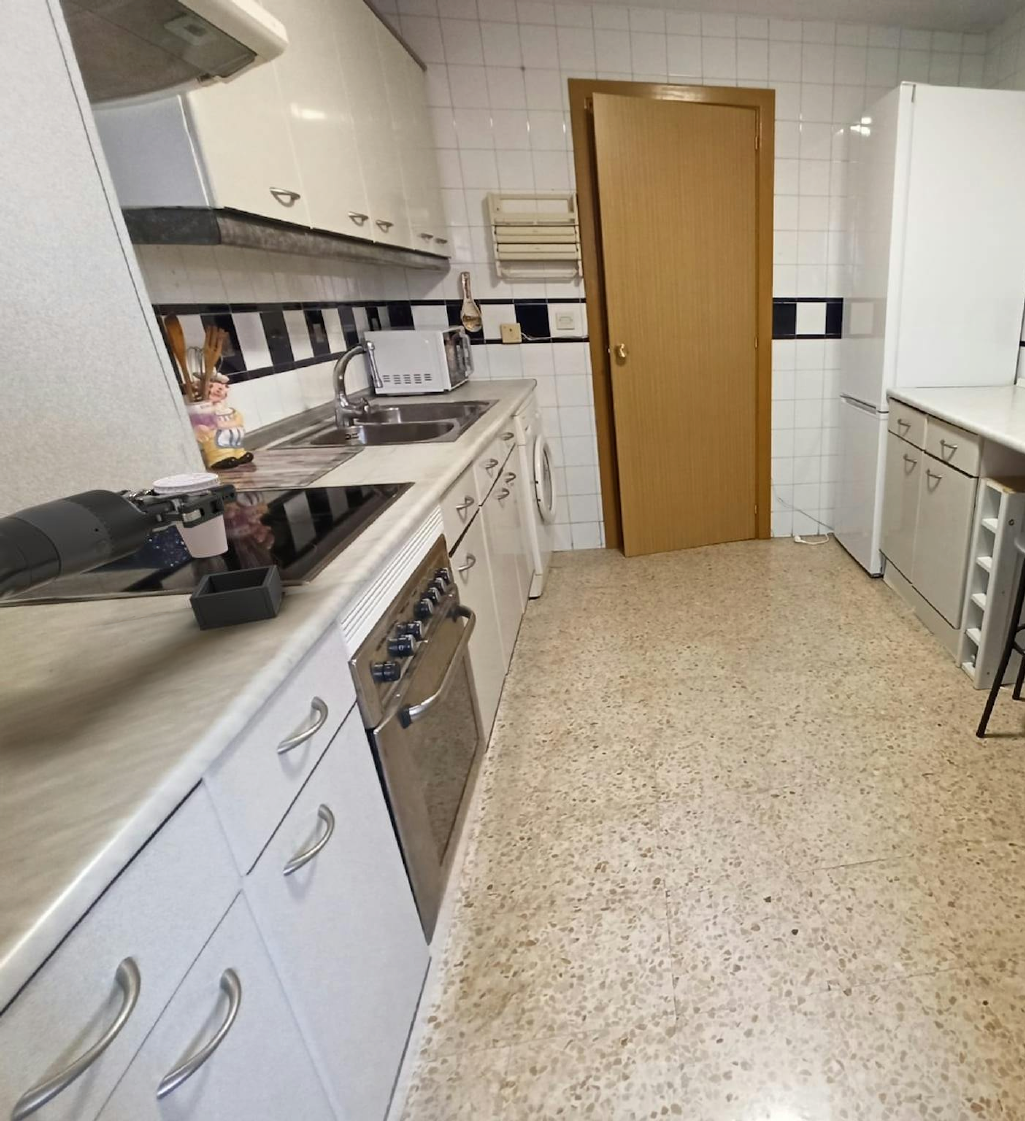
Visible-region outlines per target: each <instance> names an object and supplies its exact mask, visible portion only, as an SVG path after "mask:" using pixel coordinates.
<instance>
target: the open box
mask: <svg viewBox="0 0 1025 1121" xmlns="http://www.w3.org/2000/svg"><path fill="white" fill-rule="evenodd" d="M284 596H285V591H284V587H283V583H282V580H281V577H280V573H279V571H278V567H277V564H272V565H264V566H258V567H252V568H245V569H239V570H238V569H237V570H232V571H226V572H218V573H217V572H216V573H210V574H204V575H203V576H202V578H201V579H200V581H199V582H198V584H197V586H196V587H195V589H194V591H192V594H191V595H190V597H189V598H188V600H189V603H190V605H191V609H192V611H193V614H194V617H195V619H196V623H197V624H198V628H199V630H200V631H205V630H210V629H215V628H221V627H226V626H233V625H239V624H244V623H249V622H256V621H261V620H267V619H272V618H273V619H274V618H277V617H278V614H279V611H280V608H281V604H282V602H283V599H284Z"/></svg>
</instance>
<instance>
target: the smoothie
mask: <svg viewBox="0 0 1025 1121" xmlns="http://www.w3.org/2000/svg"><path fill="white" fill-rule="evenodd" d="M177 447H178V448H177V449H178V451H179V453H180V457H181V460H182V463H183V466H184V470H185V472H186V473H183V474H176V475H171V476H166V477H163V478H160V479H157V480H154V482H152V487H153V489H154V492H156V493H159V494H160V495H165V494H170V493H175V492H183V493H186V494H192V493H197V492H202V491H205V490H209V489H212V488H215V487H218V486H220V484H222V483H221V480H220V478H219V475H218V474H217V473H213V472H193V469H192V466H191V463H190V460H189V457H188V454H187V450H186V448H185V445H184V443H183V442H179V443H177ZM194 500H195V499H194ZM171 501H172V502H173V503H174V505H175V507H176V510H178V509H177V506H180V504H179V501H178V499H174V500H171ZM192 501H193V500H192ZM175 527H176V529H177V531H178V533H179V535H180V536H181V538H182V541H183V542H184V544H185V545H186V548H187V550H188V552H189V553H190V556H191V557H192V558H197V559H198V558H209V557H210V558H211V557H215V556H218V555H222V554H224V553H226V552H227V551H228V550H229V547H228V542H227V534H226V529H225V528H226V527H225V520H224V514H223V515H220V516H218V517H216V518H214V519H211V520H209V521H207V522H205V523H202V524H200V525H198V526H195V527H193V528H184V527H183V524H182V523H181V524H177V525H175Z"/></svg>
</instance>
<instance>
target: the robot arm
mask: <svg viewBox="0 0 1025 1121" xmlns="http://www.w3.org/2000/svg"><path fill="white" fill-rule="evenodd" d="M174 499H178V501H179V504H180V506H177V509H178V510H176V507H175V505H174V503H173V502H172V501H171V500H174ZM194 499H195V500H194ZM192 500H193V501H192ZM237 501H238V494H237V490H236V487H235V485H234V484H232V483H224V484H222V485H218V487H215V488H212V489H209V490H205V491H202V492H197V493H192V494H186V493H183V492H175V493H170V494H165V495H160V494H159V493H156V492H154V488H151V489H149V488H141V489H138V490H134V491H133V490H130V489H122V490H120V491H116V492H115V491H111V490H107V489H91V490H88V491H83V492H80V493H77V494H73V495H69V496H66V497H62V498H58V499H55V500H52V501H49V502H44V503H41V504H37V505H34V506H29V507H26V508H23V509H21V510H18V511H15V512H14V513H11V514H9V515H6V516H3V517H1V518H0V601H4V600H7V599H10V598H12V597H15V596H19V595H21V594H25V593H26V592H30V591H32V590H35V589H37V588H40V587H43V586H45V585H47V584H50V583H54V582H56V581H61V580H64V579H69V578H72V577H76V576H78V575H80V574H84V573H86V572H89V571H91V570H94V569H96V568H99V567H101V566H104V565H106V564H107V565H108V564H109V563H112V562H114V561H117V560H120V559H122V558H125V557H128V556H129V555H132V554H134V553H137V552H138V551H140V550H141V549H142V548H143V547H144V546H145V544H146V542H147V539H148V536H149V535H150V533H155V532H160V531H165V530H166V529H168V528H169V527H172V526H176V525H177V524H181V523H182V524H183V527H184V528H193V527H195V526H198V525H200V524H202V523H205V522H207V521H209V520H211V519H214V518H216V517H218V516H220V515H223V516H224V515H225V514H227V509H226V506H225V505H229V504H231V503H234V502H237Z"/></svg>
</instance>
